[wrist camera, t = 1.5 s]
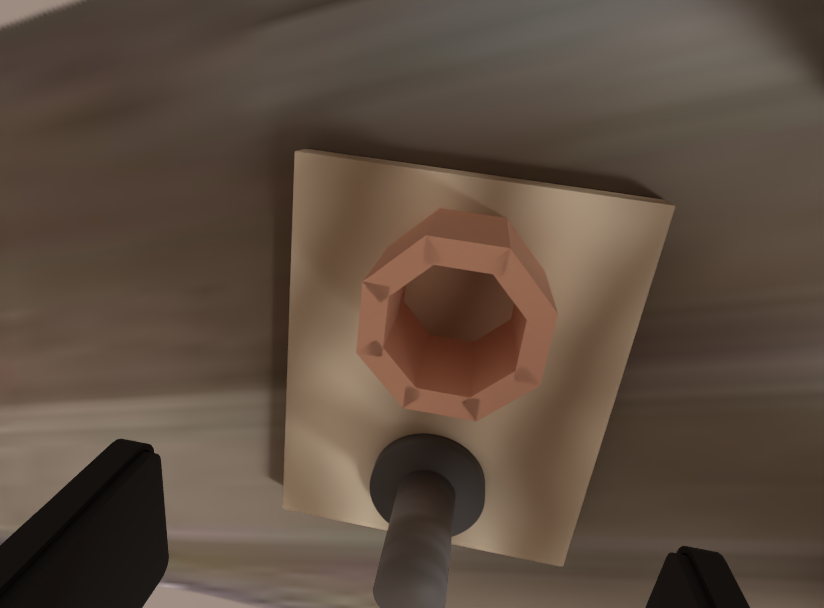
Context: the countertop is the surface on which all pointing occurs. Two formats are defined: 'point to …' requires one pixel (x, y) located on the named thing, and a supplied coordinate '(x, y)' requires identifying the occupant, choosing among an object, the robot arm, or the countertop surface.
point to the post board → (465, 320)
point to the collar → (446, 357)
